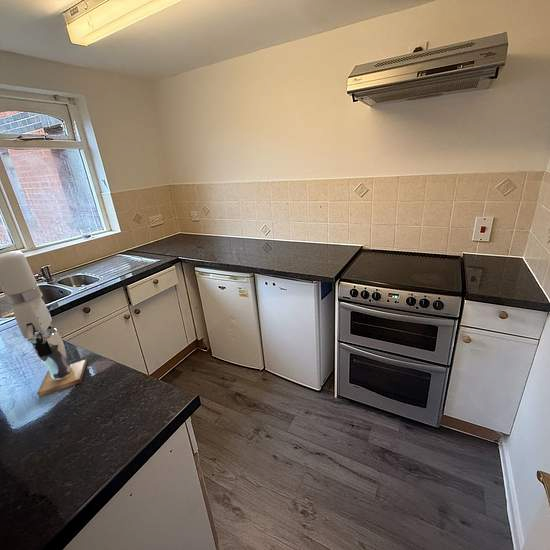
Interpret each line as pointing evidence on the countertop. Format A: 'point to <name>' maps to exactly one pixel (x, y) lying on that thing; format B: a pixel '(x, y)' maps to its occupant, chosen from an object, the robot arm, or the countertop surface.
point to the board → (73, 379)
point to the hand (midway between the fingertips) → (49, 347)
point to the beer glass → (56, 356)
